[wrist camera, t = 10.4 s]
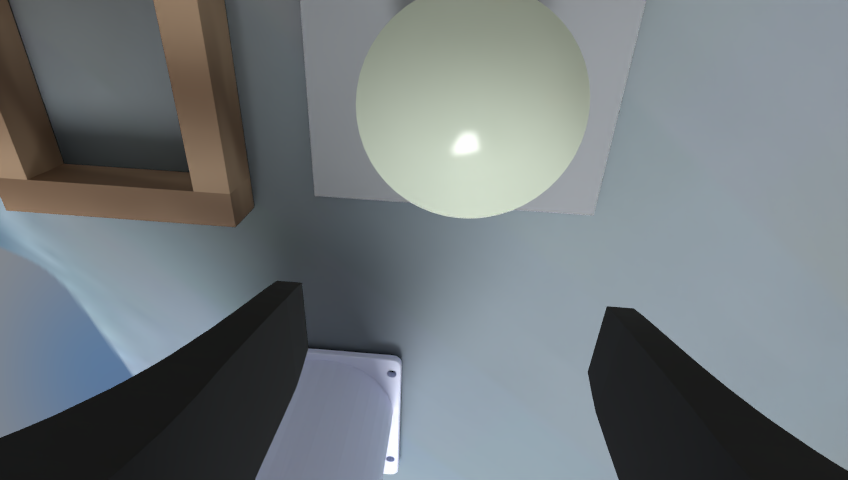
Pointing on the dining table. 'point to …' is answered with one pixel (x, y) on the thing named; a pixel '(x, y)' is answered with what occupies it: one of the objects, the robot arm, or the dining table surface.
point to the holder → (126, 187)
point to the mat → (344, 56)
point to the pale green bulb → (472, 104)
